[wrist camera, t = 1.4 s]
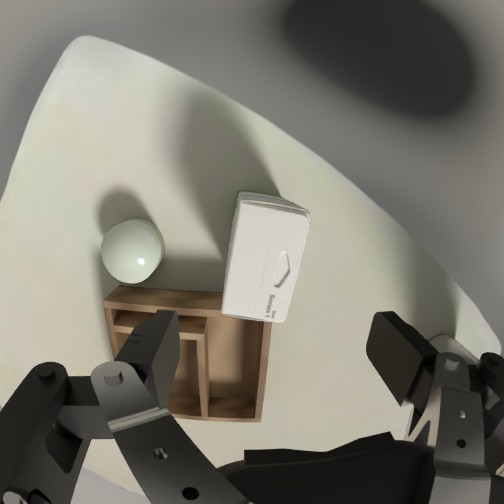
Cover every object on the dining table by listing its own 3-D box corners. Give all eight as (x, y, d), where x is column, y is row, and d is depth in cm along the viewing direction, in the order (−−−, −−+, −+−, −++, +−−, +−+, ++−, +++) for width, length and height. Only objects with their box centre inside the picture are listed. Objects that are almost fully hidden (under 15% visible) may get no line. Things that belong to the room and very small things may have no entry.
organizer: (268, 294, 32) (273, 311, 27) (258, 399, 36) (260, 422, 31) (118, 285, 31) (103, 300, 26) (137, 390, 35) (128, 410, 30)
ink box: (238, 188, 29) (238, 194, 17) (284, 197, 29) (314, 208, 18) (224, 267, 31) (217, 317, 19) (269, 274, 31) (286, 326, 20)
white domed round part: (164, 218, 29) (155, 223, 26) (165, 274, 31) (157, 285, 27) (113, 217, 29) (99, 222, 25) (116, 271, 30) (104, 281, 27)
